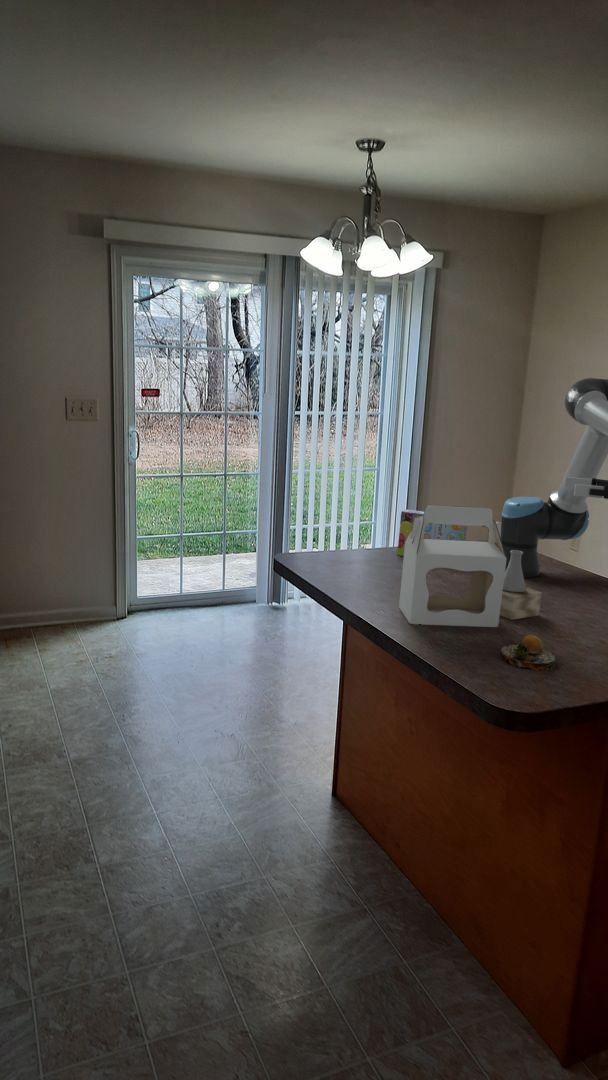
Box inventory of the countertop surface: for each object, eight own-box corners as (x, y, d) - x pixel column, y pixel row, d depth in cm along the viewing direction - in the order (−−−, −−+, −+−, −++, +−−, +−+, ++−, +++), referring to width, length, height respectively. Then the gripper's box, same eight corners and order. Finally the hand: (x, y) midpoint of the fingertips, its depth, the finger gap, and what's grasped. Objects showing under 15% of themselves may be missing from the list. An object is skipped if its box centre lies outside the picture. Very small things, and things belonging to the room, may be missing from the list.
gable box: (482, 611, 200) (495, 504, 194) (499, 627, 187) (513, 513, 181) (397, 607, 198) (408, 499, 192) (408, 624, 185) (420, 509, 179)
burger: (545, 652, 172) (549, 620, 171) (564, 673, 161) (569, 638, 159) (491, 649, 172) (495, 617, 170) (507, 670, 160) (511, 635, 159)
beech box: (509, 603, 207) (512, 582, 206) (539, 615, 199) (542, 593, 198) (481, 607, 202) (484, 585, 201) (511, 619, 193) (513, 596, 192)
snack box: (463, 562, 252) (468, 516, 249) (459, 565, 247) (464, 519, 244) (401, 552, 260) (405, 508, 257) (396, 555, 255) (400, 510, 252)
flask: (527, 594, 195) (532, 556, 193) (497, 591, 196) (502, 552, 194) (525, 587, 202) (530, 550, 200) (497, 584, 203) (501, 547, 201)
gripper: (672, 517, 178) (576, 509, 181) (642, 500, 202) (558, 493, 205) (678, 485, 176) (581, 477, 179) (647, 472, 200) (562, 465, 203)
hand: (569, 485), depth 192 cm, fingers open, 13 cm apart
